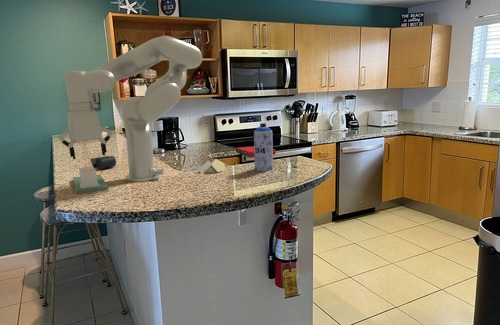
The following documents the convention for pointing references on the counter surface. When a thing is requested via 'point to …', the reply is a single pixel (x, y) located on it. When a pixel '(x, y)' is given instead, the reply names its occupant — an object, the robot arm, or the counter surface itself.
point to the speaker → (103, 162)
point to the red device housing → (248, 151)
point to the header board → (100, 187)
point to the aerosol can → (263, 148)
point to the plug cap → (88, 177)
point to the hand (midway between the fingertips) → (89, 156)
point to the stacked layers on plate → (212, 167)
